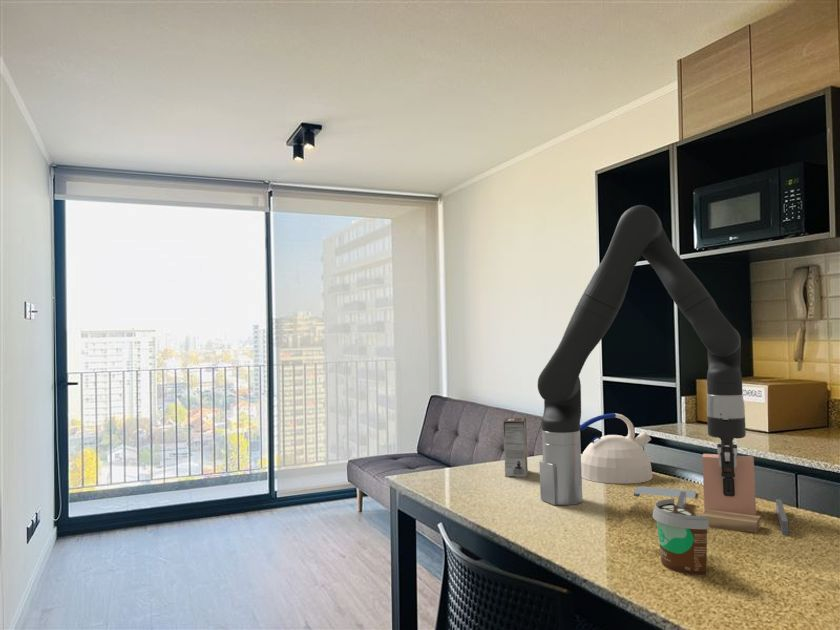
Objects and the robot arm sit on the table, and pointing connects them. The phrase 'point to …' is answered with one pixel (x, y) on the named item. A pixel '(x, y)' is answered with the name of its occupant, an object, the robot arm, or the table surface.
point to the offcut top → (733, 521)
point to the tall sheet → (742, 483)
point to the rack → (779, 510)
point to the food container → (681, 538)
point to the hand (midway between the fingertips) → (729, 493)
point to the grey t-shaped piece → (663, 492)
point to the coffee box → (515, 447)
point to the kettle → (616, 456)
